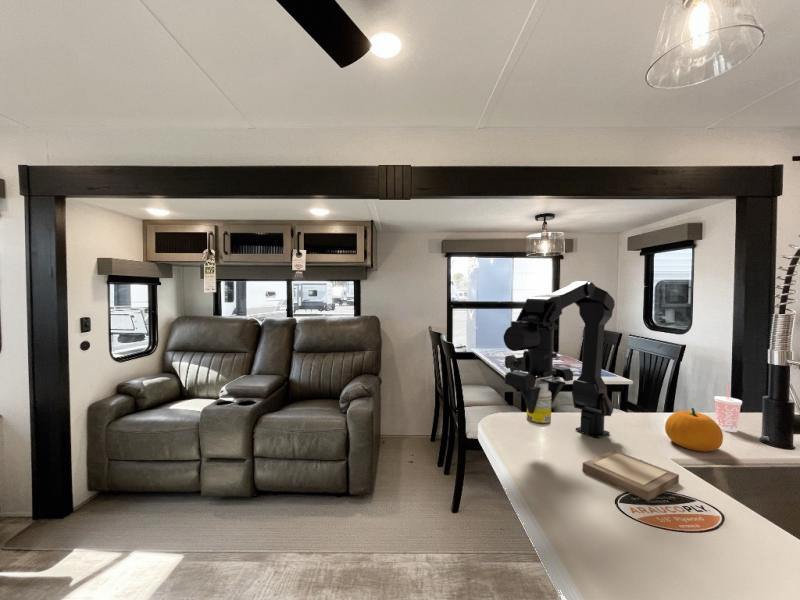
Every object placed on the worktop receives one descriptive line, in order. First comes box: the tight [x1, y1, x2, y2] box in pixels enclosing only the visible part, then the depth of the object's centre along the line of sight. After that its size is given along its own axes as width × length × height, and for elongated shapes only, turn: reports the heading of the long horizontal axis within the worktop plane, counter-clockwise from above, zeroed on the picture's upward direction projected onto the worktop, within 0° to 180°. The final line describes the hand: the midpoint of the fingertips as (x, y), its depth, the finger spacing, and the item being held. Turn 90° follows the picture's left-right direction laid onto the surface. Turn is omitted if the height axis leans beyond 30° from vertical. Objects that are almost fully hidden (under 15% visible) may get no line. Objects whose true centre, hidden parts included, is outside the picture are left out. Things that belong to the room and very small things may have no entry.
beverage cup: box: [713, 381, 743, 433], centre depth 104 cm, size 6×6×14 cm
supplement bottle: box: [526, 380, 552, 428], centre depth 85 cm, size 6×6×10 cm
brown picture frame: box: [582, 449, 680, 502], centre depth 75 cm, size 13×13×2 cm
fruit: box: [664, 407, 724, 452], centre depth 91 cm, size 12×12×10 cm
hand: (538, 411), depth 85 cm, fingers closed on supplement bottle, 5 cm apart
